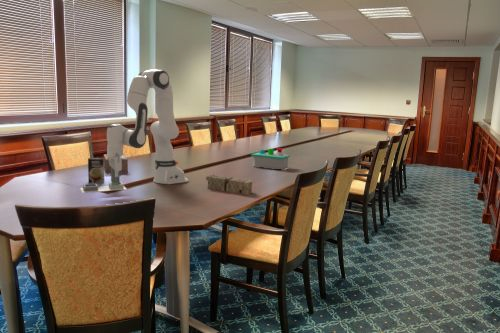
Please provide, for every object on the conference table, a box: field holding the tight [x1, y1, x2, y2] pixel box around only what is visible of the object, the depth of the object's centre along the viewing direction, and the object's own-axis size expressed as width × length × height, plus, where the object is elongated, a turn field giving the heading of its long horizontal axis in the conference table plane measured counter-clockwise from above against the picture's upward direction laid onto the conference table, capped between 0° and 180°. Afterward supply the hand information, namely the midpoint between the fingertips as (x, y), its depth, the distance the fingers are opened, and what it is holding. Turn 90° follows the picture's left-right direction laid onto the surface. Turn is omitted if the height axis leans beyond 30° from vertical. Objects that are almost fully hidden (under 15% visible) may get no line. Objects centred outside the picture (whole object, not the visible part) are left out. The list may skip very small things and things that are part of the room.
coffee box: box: [87, 157, 105, 184], centre depth 253 cm, size 9×6×16 cm
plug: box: [110, 168, 121, 183], centre depth 239 cm, size 4×4×9 cm
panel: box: [80, 181, 127, 194], centre depth 237 cm, size 24×12×4 cm, turn 118°
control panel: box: [250, 147, 291, 170], centre depth 332 cm, size 15×16×30 cm
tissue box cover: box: [103, 153, 129, 175], centre depth 300 cm, size 26×14×10 cm, turn 23°
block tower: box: [205, 173, 253, 196], centre depth 251 cm, size 8×8×29 cm
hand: (115, 175), depth 239 cm, fingers closed on plug, 4 cm apart
